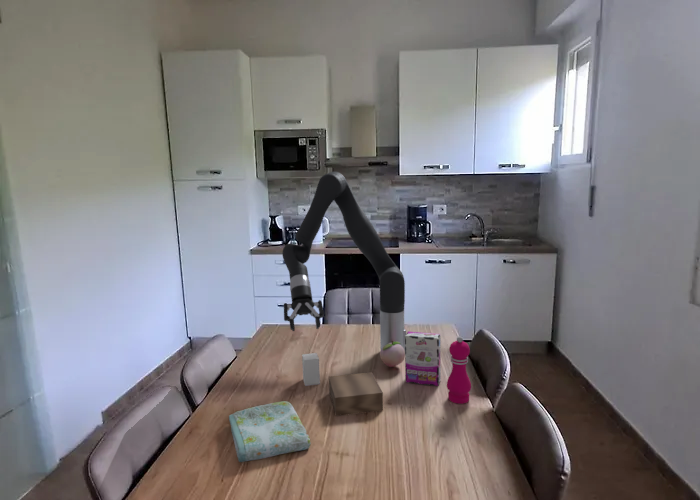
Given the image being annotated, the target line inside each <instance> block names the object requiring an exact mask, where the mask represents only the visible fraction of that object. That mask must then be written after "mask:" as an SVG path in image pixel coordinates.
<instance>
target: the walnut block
mask: <svg viewBox="0 0 700 500" xmlns="http://www.w3.org/2000/svg"><path fill="white" fill-rule="evenodd" d="M328 388H329V389H328V390H329V391H328V393H329V397H330V400H331V404H332V407H333V411H334V412H333V413H334V415H335V417H339V416H348V414H349V415H358V414H363V413H364V414H365V412H366V413H374V412H373V411H375V412H383V411H384V407H383V405H384V404H383V402H384V397H383V396H384V393H383V391H382V389H381V387H380V385H379V383H378V381H377V379H376V378H375V375H374V373H373V372H372V371H370V372H362V373H361V372H360V373H351V374H341V375H340V374H339V375H331V376H330V375H329V376H328ZM382 410H383V411H382Z"/></svg>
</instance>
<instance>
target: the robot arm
mask: <svg viewBox="0 0 700 500" xmlns="http://www.w3.org/2000/svg"><path fill="white" fill-rule="evenodd" d="M333 202H335V203H336V205H337V206H338V208H339V211H340V213H341V215H342V218H343V223H344V225H345V228H346V231H347V233H348V235H349V236H350V238H351V239H352V241H353V243H354V245H355V246H356V247H357V248H358V249H359V251H360V252H361V253H362V254H363V255H364V256H365V257H366V259H367V260H368V261H369V262H370V264H371V265H372V267H373V269H374V270H375V273H376V275H377V277H378V279H379V322H380V323H379V327H380V330H379V331H380V332H379V333H380V334H379V335H380V339H379V341H380V347H379V348H380V350H381V349H382V348H383V347H384V346H385V345H387V344H389V343H392V341H393V342H395V341H396V342H400V343H401V344H399V345H401V346H402V347H403V348H404V350H405V335H406V334H407V329H406V328H405V301H406V300H405V298H406V296H405V294H406V293H405V291H406V289H405V288H406V286H405V285H406V281H405V277H404V275H403V272H402V271H401V270H400V268H399V267H398V265H396V263H395V262H394V261H393V259H392V258H391V257H390V255H389V254H388V252H387V250H386V248H385V246H384V244H383V241H382V239H381V237H380V236H379V234H378V232H377V230H376V228H375V227H374V226H373V224H372V222H371V221H370V219H369V217H368V216H367V215H366V213H365V211H364V210H363V208H362V206H360V204H359V202H358V201H357V199H356V197H355V196H354V193H353V192H352V189H351V187H350V185H349V182H348V181H347V178H346V177H345V176H344V175H343V174H342V173H341V172H339V171H331V172H328V173H325V174H324V175H322V176H321V177H320V178H319V181H318V183H317V187H316V189H315V192H314V195H313V199H312V200H311V204H310V206H309V209H308V211H307V213H306V214H305V216H304V218H303V220H302V222H301V224H300V225H299V228H298V230H297V232H296V234H295V238H296V240H297V241H298V242H299V243H301V245H300V244H295V243H287V244H285V245H284V247H283V249H282V260H283V262H284V264H285V266H286V268H287V270H288V273H289V275H288V276H289V289H290V290H289V291H290V297H291V304H290V303H288V302H287V303H286V302H285V303H283V320H284V321H285V322H288V323H289V328H290V330H292V332H296V331H295V330H296V328H295V319H296V318H297V316H298V315H299V316H303V315H304V316H306V315H307V316H308V315H310V316H311V317H313V318H314V319H315V321H314V322H315V327H316V329H317V330H319V328H321V319H322V318H324V315H325V312H324V307H323V303H322V300H320V299H319V300H318V301H314V300H313V296H312V295H313V294H312V288H311V281H310V279H309V273H308V271H309V270H308V267H307V266H306V264H305V263H307V262H308V261H309V259H310V255H311V250H312V246H313V241H314V240H315V239H316V237H317V234H319V231H320V228H321V226H322V224H323V220H324V217H325V216H326V215H325V214H326V213H327V211H328V209H329V207H330V205H331V204H332V203H333ZM314 307H316V309H318V312H319V313H318V312H317V311H316V309H315V308H314ZM290 309H291V310H293V311H292V313H291V315H290V316H289V313H288V311H289V310H290Z"/></svg>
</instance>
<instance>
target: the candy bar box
mask: <svg viewBox="0 0 700 500" xmlns="http://www.w3.org/2000/svg"><path fill="white" fill-rule="evenodd" d="M441 338H442V337H441V333H436V332H435V333H433V332H419V331H406V335H405V357H404V360H405V363H404V364H405V374H404V375H405V376H404V377H405V383H409V384H415V385H424V386H435V387H439V385H440V382H441V377H442V375H441V373H442V372H441V365H442V364H441V350H442V349H441V347H442V345H441Z"/></svg>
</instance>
